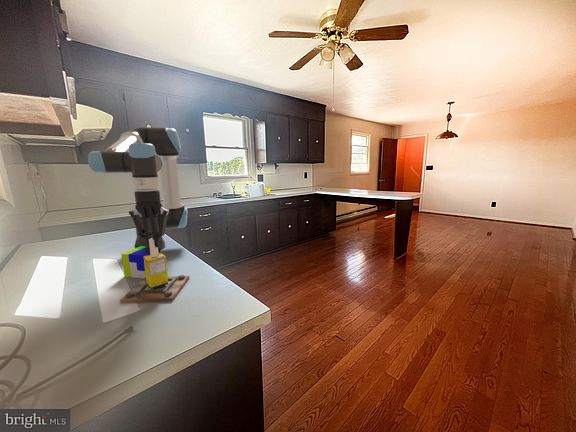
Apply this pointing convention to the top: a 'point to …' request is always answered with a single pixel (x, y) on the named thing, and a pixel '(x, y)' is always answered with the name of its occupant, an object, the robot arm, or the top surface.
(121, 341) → the top surface
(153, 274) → the supplement box
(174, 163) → the robot arm
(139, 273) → the puzzle toy
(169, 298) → the base plate
